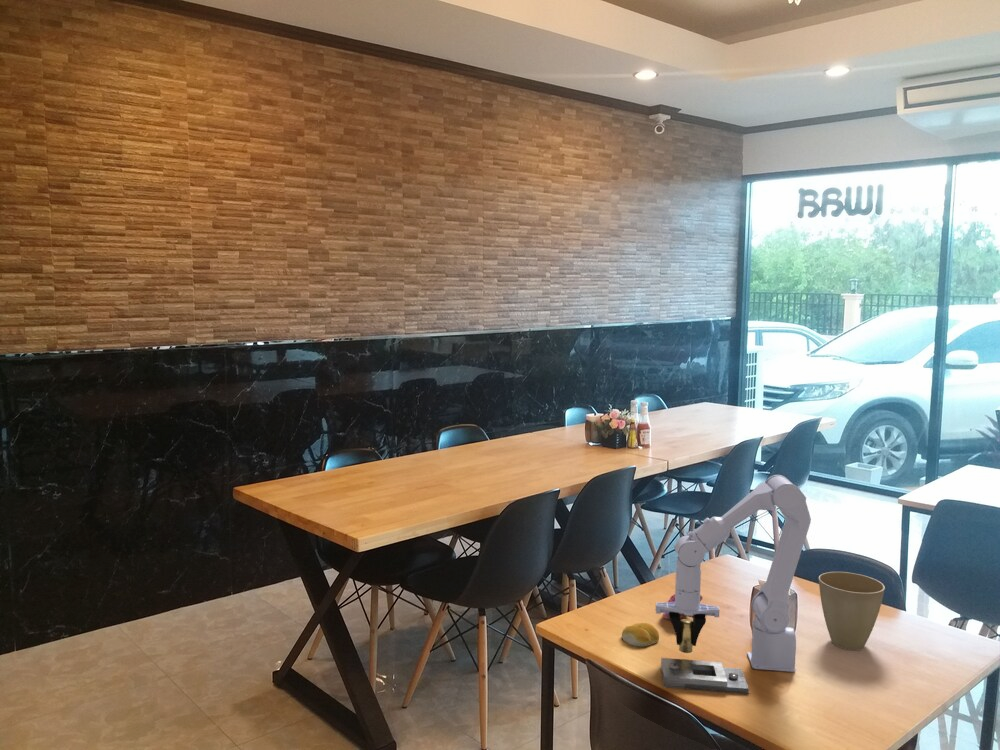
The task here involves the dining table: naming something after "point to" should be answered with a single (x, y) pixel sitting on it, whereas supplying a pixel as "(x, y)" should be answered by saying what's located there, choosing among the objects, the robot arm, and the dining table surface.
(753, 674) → the dining table surface
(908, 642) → the dining table surface
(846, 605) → the plant pot
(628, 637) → the bread roll
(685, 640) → the brass pin
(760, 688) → the dining table surface
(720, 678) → the grey plate with knobs
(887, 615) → the dining table surface
